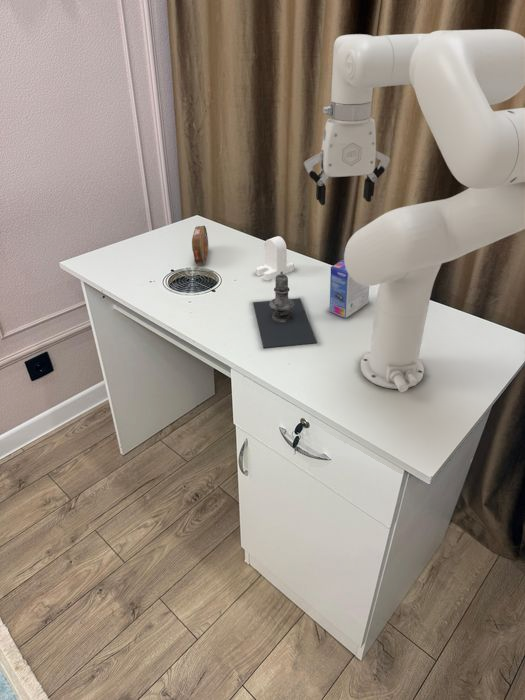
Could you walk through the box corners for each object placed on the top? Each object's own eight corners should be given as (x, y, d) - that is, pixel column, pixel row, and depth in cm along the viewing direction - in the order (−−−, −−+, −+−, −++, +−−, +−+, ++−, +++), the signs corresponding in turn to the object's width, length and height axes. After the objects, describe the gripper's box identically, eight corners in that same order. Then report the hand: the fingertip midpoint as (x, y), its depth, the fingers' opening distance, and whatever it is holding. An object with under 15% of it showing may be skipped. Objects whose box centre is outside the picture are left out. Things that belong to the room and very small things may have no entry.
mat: (316, 343, 113) (317, 342, 113) (263, 348, 112) (263, 347, 112) (300, 299, 130) (300, 298, 129) (253, 303, 128) (253, 302, 128)
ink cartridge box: (350, 296, 130) (355, 243, 122) (369, 303, 127) (375, 249, 119) (327, 311, 124) (330, 256, 116) (345, 319, 121) (350, 263, 113)
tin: (204, 269, 145) (201, 241, 140) (193, 269, 145) (190, 241, 140) (209, 247, 157) (207, 221, 152) (199, 247, 157) (196, 221, 152)
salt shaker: (292, 324, 119) (292, 278, 112) (267, 322, 120) (266, 276, 114) (295, 311, 124) (296, 266, 117) (272, 309, 125) (271, 264, 118)
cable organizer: (294, 270, 143) (295, 236, 137) (267, 281, 138) (266, 246, 132) (282, 263, 146) (282, 230, 140) (255, 274, 141) (254, 240, 136)
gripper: (309, 118, 92) (307, 210, 102) (402, 113, 94) (390, 204, 103) (301, 110, 98) (299, 198, 108) (388, 105, 100) (378, 192, 110)
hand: (344, 201), depth 106 cm, fingers open, 9 cm apart
